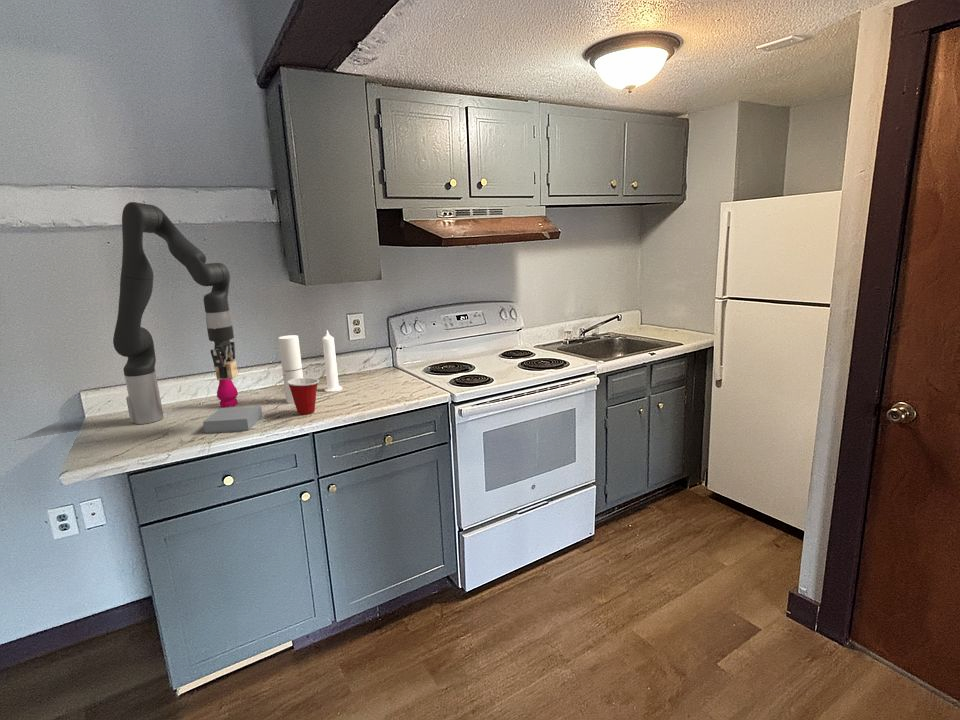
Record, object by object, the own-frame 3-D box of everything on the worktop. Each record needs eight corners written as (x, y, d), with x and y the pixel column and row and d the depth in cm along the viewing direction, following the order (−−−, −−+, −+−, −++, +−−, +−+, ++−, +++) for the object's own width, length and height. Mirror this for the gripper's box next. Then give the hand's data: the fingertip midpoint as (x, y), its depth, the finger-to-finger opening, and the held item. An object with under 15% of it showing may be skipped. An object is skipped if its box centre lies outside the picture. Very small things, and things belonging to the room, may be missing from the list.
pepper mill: (231, 408, 201) (223, 356, 196) (214, 407, 202) (206, 356, 197) (243, 402, 207) (235, 352, 203) (226, 401, 209) (219, 352, 204)
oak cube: (217, 379, 176) (214, 365, 175) (223, 376, 181) (220, 361, 179) (232, 379, 176) (230, 364, 175) (238, 375, 181) (236, 360, 180)
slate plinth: (205, 433, 175) (203, 421, 174) (222, 419, 188) (220, 408, 187) (248, 430, 176) (247, 418, 175) (262, 416, 189) (261, 405, 188)
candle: (345, 387, 222) (339, 328, 216) (337, 392, 215) (330, 331, 210) (329, 387, 224) (323, 328, 218) (321, 392, 217) (314, 331, 211)
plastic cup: (326, 413, 190) (322, 380, 187) (295, 419, 185) (290, 385, 182) (318, 405, 199) (314, 374, 197) (288, 411, 194) (284, 379, 191)
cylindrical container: (297, 403, 203) (289, 339, 197) (282, 402, 205) (274, 338, 199) (309, 398, 209) (302, 335, 204) (294, 397, 212) (286, 334, 206)
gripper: (216, 322, 181) (224, 371, 185) (197, 329, 167) (206, 382, 171) (239, 321, 181) (246, 369, 185) (222, 328, 167) (230, 380, 171)
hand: (227, 375), depth 178 cm, fingers closed on oak cube, 5 cm apart
